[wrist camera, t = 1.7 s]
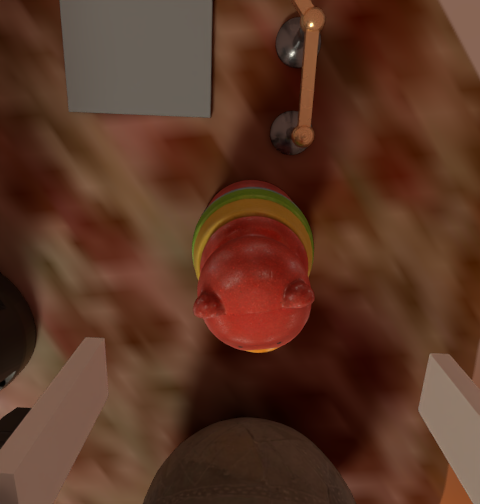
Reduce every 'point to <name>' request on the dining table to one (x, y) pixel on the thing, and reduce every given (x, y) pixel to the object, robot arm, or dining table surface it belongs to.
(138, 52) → the mat
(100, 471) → the dining table surface
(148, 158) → the dining table surface
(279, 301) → the stacking bear
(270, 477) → the bowl
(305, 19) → the miniature post railing
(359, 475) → the dining table surface
